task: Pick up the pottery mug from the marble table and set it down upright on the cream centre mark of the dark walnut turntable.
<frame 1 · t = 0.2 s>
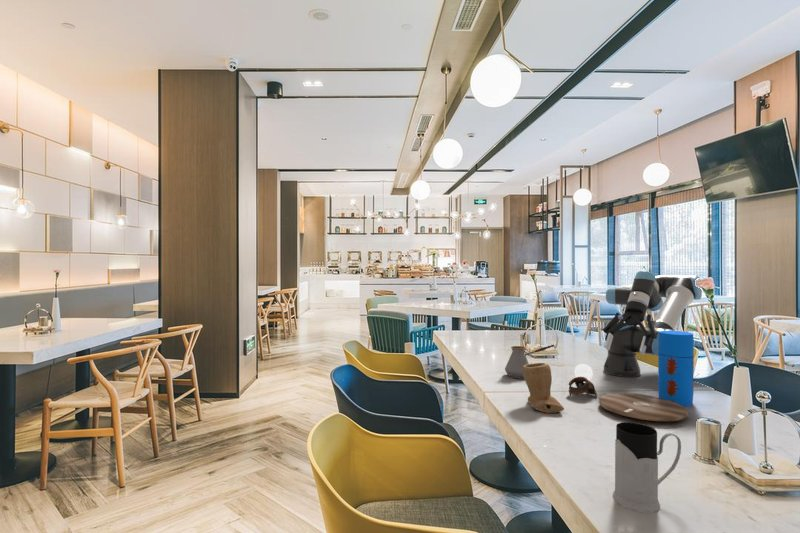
hand: (623, 350, 170), 16 cm above the table, tool tilted 35°, fingers open, 13 cm apart
brown boot vase: (541, 407, 150), on the table
pottery mug: (582, 396, 164), on the table
turntable: (641, 405, 145), point 2 cm above the table, hinge at 0.0°
glass holder: (648, 500, 90), on the table
coffee pot: (529, 377, 190), on the table
thermos: (675, 402, 157), on the table
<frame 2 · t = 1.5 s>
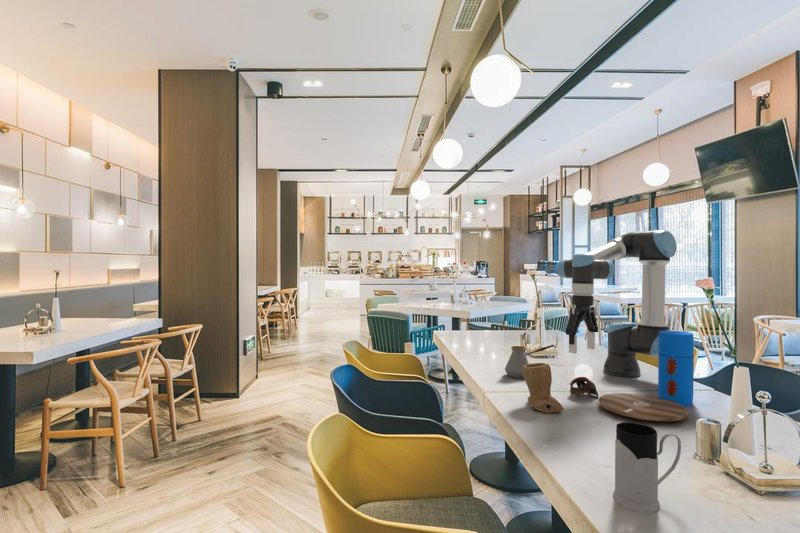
hand: (582, 350, 164), 17 cm above the table, tool pointing down, fingers open, 13 cm apart
nothing on the table moved.
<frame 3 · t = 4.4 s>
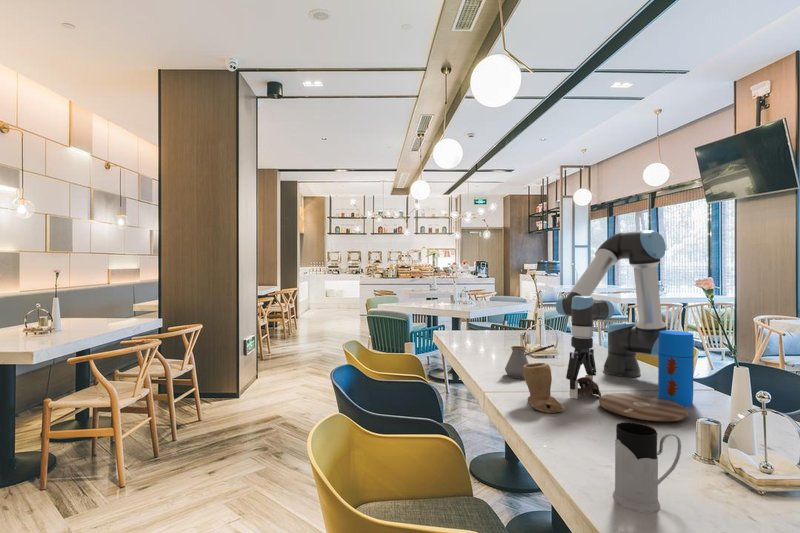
hand: (581, 395, 164), 0 cm above the table, tool pointing down, fingers closed on pottery mug, 11 cm apart
pottery mug: (586, 396, 163), on the table, touching gripper
everything else where it was.
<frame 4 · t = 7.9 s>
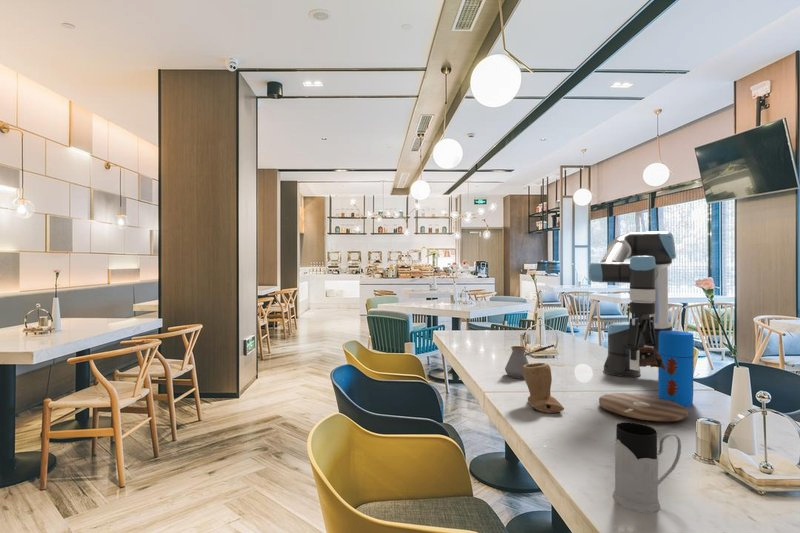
hand: (641, 367, 145), 15 cm above the table, tool pointing down, fingers closed on pottery mug, 11 cm apart
pottery mug: (647, 369, 145), point 14 cm above the table, touching gripper
everything else where it was.
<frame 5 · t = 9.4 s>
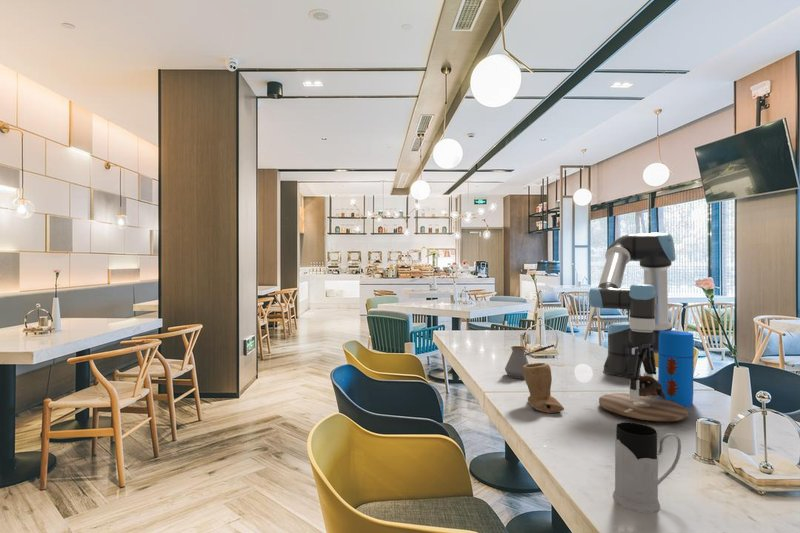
hand: (641, 396, 145), 5 cm above the table, tool pointing down, fingers closed on pottery mug, 11 cm apart
pottery mug: (647, 398, 145), point 5 cm above the table, touching gripper
everything else where it was.
when the fingers open (4 cm above the table, at t = 10.8 s): pottery mug stays where it is, resting on turntable.
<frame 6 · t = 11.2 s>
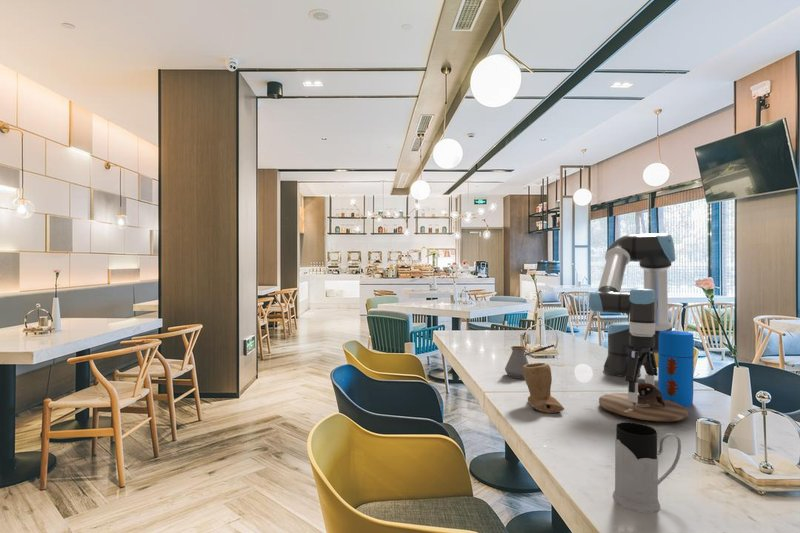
hand: (641, 397, 145), 5 cm above the table, tool pointing down, fingers open, 13 cm apart
pottery mug: (646, 405, 145), point 2 cm above the table, touching turntable
turntable: (641, 405, 145), point 2 cm above the table, hinge at 0.0°, touching pottery mug
everything else where it was.
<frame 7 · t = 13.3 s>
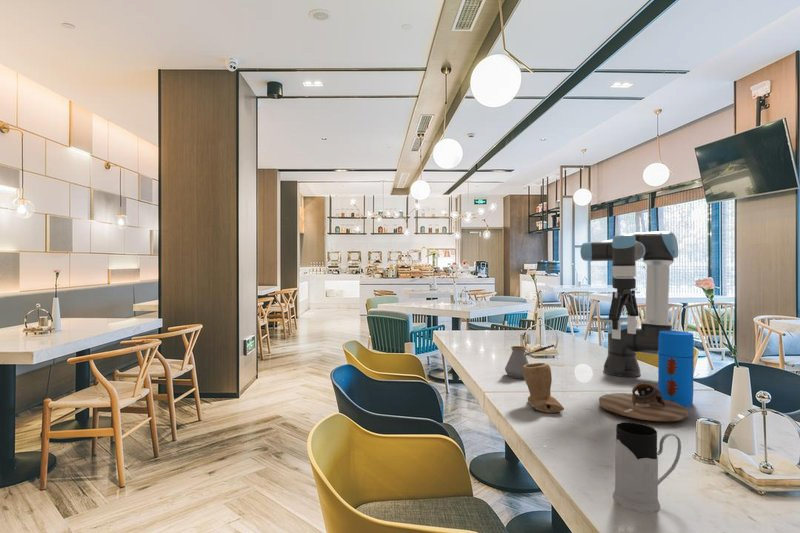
hand: (624, 336, 157), 24 cm above the table, tool pointing down, fingers open, 13 cm apart
nothing on the table moved.
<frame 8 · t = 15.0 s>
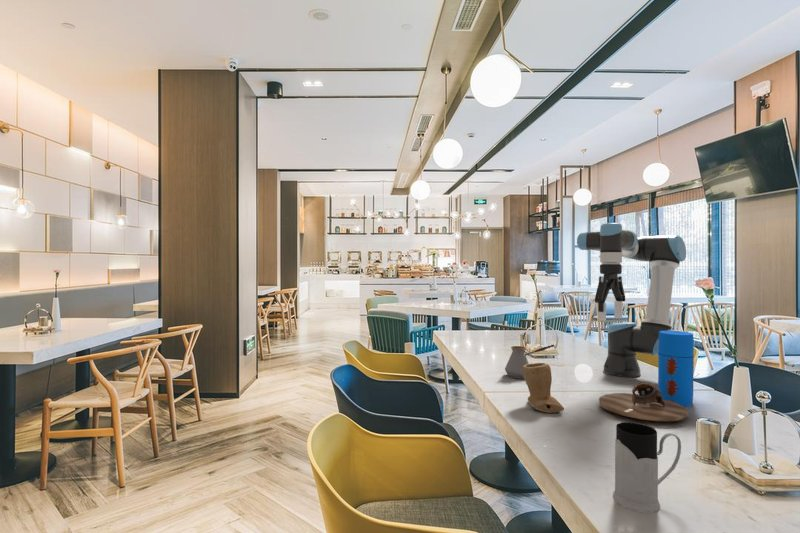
hand: (610, 319, 165), 29 cm above the table, tool pointing down, fingers open, 13 cm apart
nothing on the table moved.
at the end: pottery mug 1.6 cm from the turntable (horizontally); pottery mug point 2.4 cm above the table; pottery mug tilted 1° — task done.
